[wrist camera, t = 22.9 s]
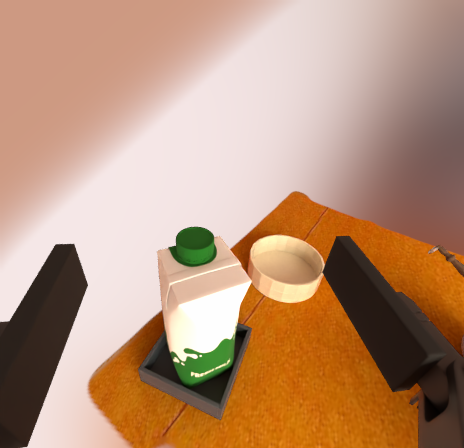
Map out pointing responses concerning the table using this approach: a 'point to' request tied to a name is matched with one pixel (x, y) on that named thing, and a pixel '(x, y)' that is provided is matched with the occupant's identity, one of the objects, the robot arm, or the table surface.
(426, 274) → the table surface
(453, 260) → the coffee pot
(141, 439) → the table surface
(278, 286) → the bowl
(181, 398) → the tray
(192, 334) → the milk carton
